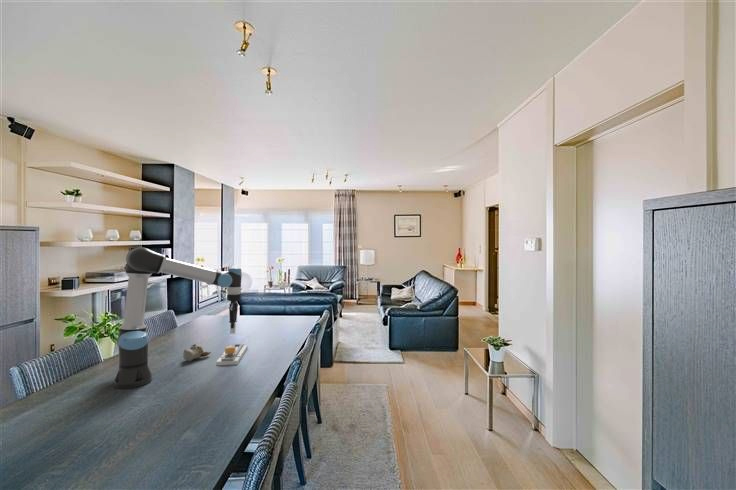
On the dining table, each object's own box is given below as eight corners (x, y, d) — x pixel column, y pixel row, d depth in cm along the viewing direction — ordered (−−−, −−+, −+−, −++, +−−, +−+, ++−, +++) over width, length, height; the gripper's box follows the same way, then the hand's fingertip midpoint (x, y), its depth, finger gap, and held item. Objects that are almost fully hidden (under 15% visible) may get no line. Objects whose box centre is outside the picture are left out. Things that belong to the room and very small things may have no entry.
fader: (234, 356, 200) (234, 348, 200) (225, 357, 200) (225, 348, 200) (235, 355, 203) (235, 346, 203) (226, 355, 203) (226, 346, 203)
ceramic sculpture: (177, 345, 199) (198, 340, 213) (176, 361, 198) (197, 355, 212) (192, 348, 195) (212, 342, 209) (191, 364, 194) (211, 357, 208)
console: (237, 364, 194) (237, 358, 194) (216, 365, 193) (216, 359, 193) (247, 348, 224) (247, 343, 224) (229, 348, 222) (229, 343, 222)
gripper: (238, 295, 203) (236, 336, 203) (242, 292, 216) (241, 330, 216) (224, 295, 202) (223, 336, 202) (230, 292, 215) (228, 330, 215)
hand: (232, 333), depth 209 cm, fingers closed
